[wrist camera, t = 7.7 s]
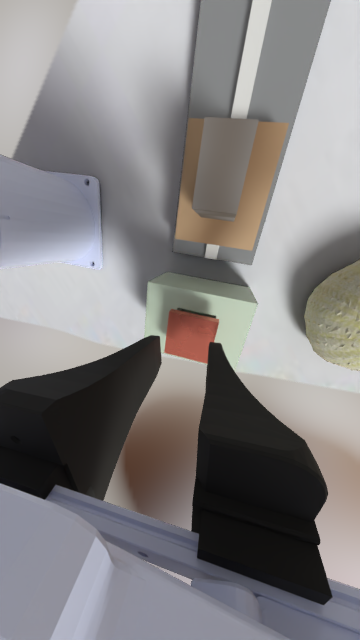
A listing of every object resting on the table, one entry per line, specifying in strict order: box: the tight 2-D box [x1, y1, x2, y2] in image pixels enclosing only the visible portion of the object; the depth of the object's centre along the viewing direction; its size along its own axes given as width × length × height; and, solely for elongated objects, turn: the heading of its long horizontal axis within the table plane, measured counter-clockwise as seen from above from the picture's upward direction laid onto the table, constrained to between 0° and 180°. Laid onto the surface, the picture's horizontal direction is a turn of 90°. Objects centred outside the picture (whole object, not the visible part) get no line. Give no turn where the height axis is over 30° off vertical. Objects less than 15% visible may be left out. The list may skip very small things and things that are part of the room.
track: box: [172, 0, 331, 265], centre depth 12 cm, size 7×19×1 cm, turn 172°
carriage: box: [175, 117, 289, 251], centre depth 11 cm, size 6×7×5 cm
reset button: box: [164, 309, 219, 364], centre depth 14 cm, size 3×3×2 cm
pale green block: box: [144, 272, 258, 371], centre depth 16 cm, size 8×6×5 cm
